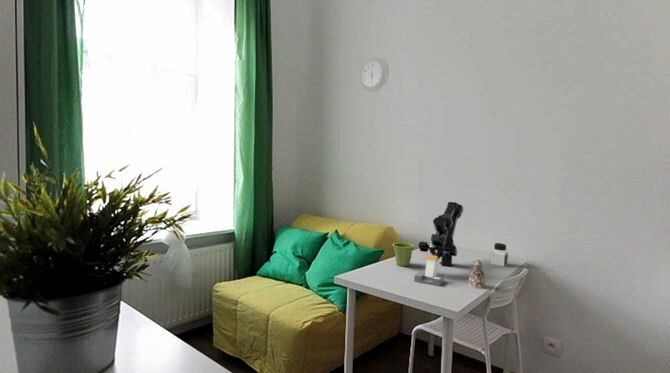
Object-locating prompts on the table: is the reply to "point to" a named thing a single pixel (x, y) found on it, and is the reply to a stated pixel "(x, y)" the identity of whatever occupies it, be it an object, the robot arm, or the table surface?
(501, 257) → the medicine bottle
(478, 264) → the figurine
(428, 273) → the switch lever
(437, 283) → the switch housing
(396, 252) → the plant pot
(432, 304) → the table surface
